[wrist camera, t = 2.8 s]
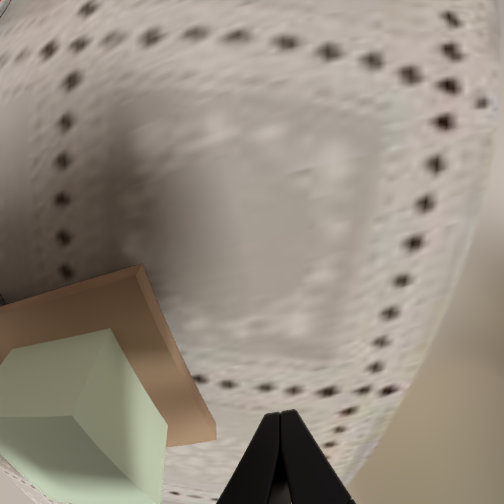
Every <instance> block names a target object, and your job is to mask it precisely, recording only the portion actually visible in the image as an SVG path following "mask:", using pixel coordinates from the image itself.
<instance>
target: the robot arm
mask: <svg viewBox="0 0 504 504" xmlns="http://www.w3.org/2000/svg"><path fill="white" fill-rule="evenodd" d="M291 503H292V504H356V503H355V501H354V500H353V499H352V498H351V496H350V494H349V493H348V491H347V490H346V488H345V486H344V485H343V483H342V482H341V480H340V479H339V477H338V476H337V474H336V473H335V471H334V470H333V468H332V466H331V465H330V463H329V462H328V460H327V459H326V457H325V455H324V454H323V452H322V451H321V449H320V448H319V446H318V444H317V443H316V441H315V440H314V438H313V436H312V435H311V433H310V432H309V430H308V428H307V427H306V425H305V423H304V422H303V420H302V419H301V417H300V415H299V414H298V412H297V411H296V410H295V409H292V410H286V411H282V412H281V413H280V412H273V413H267V414H265V415H264V417H263V419H262V421H261V423H260V425H259V427H258V429H257V431H256V432H255V434H254V436H253V438H252V440H251V442H250V444H249V446H248V448H247V450H246V451H245V453H244V455H243V457H242V459H241V461H240V462H239V464H238V466H237V468H236V470H235V471H234V473H233V475H232V477H231V479H230V480H229V482H228V484H227V486H226V487H225V489H224V491H223V493H222V494H221V496H220V498H219V499H218V501H217V503H216V504H291Z"/></svg>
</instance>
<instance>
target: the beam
mask: <svg viewBox="0 0 504 504" xmlns="http://www.w3.org/2000/svg"><path fill="white" fill-rule="evenodd" d="M109 328H111V330H112V332H113V334H114V336H115V338H116V340H117V342H118V343H119V345H120V347H121V349H122V351H123V353H124V355H125V356H126V358H127V360H128V362H129V364H130V365H131V367H132V369H133V371H134V372H135V374H136V376H137V377H138V379H139V381H140V382H141V384H142V386H143V387H144V389H145V391H146V392H147V394H148V396H149V397H150V399H151V400H152V402H153V404H154V405H155V407H156V408H157V410H158V411H159V413H160V414H161V416H162V417H163V419H164V420H165V422H166V423H167V425H168V429H167V439H166V447H172V446H180V445H187V444H194V443H201V442H207V441H213V440H217V437H216V423H215V421H214V419H213V417H212V415H211V413H210V411H209V410H208V408H207V406H206V404H205V402H204V400H203V398H202V396H201V394H200V392H199V390H198V388H197V386H196V384H195V382H194V380H193V378H192V376H191V374H190V372H189V370H188V368H187V366H186V364H185V362H184V360H183V358H182V355H181V353H180V351H179V349H178V347H177V345H176V343H175V340H174V338H173V336H172V334H171V331H170V329H169V327H168V325H167V322H166V320H165V318H164V316H163V313H162V311H161V309H160V306H159V304H158V301H157V299H156V297H155V294H154V292H153V289H152V287H151V284H150V282H149V279H148V277H147V274H146V272H145V269H144V266H143V264H139V265H136V266H132V267H129V268H125V269H122V270H119V271H115V272H112V273H108V274H105V275H102V276H98V277H95V278H92V279H88V280H85V281H82V282H78V283H75V284H72V285H69V286H65V287H62V288H59V289H55V290H52V291H49V292H46V293H42V294H39V295H36V296H33V297H30V298H26V299H23V300H20V301H17V302H14V303H10V304H7V305H4V306H1V307H0V365H1V363H2V362H3V361H4V359H5V358H6V357H7V355H8V354H9V353H10V351H11V350H12V349H15V348H20V347H25V346H30V345H35V344H40V343H45V342H50V341H54V340H59V339H64V338H68V337H73V336H78V335H82V334H87V333H91V332H96V331H100V330H105V329H109Z"/></svg>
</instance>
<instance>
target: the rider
mask: <svg viewBox="0 0 504 504" xmlns="http://www.w3.org/2000/svg"><path fill="white" fill-rule="evenodd" d="M167 429H168V425H167V423H166V422H165V420H164V419H163V417H162V416H161V414H160V413H159V411H158V410H157V408H156V407H155V405H154V404H153V402H152V400H151V399H150V397H149V396H148V394H147V392H146V391H145V389H144V387H143V386H142V384H141V382H140V381H139V379H138V377H137V376H136V374H135V372H134V371H133V369H132V367H131V365H130V364H129V362H128V360H127V358H126V356H125V355H124V353H123V351H122V349H121V347H120V345H119V343H118V342H117V340H116V338H115V336H114V334H113V332H112V330H111V328H109V329H105V330H100V331H96V332H91V333H87V334H82V335H78V336H73V337H68V338H64V339H59V340H54V341H50V342H45V343H40V344H35V345H30V346H25V347H20V348H15V349H12V350H11V351H10V353H9V354H8V355H7V357H6V358H5V359H4V361H3V362H2V363H1V365H0V454H1V455H2V456H3V457H4V458H5V459H6V460H7V461H8V462H9V463H10V464H11V465H12V466H13V467H14V468H15V469H16V470H17V471H18V472H19V473H20V474H21V475H23V476H24V477H25V478H26V479H27V480H28V481H29V482H30V483H31V484H33V485H34V486H35V487H36V488H37V489H38V490H40V491H41V492H42V493H43V494H44V495H46V496H47V497H48V498H49V499H51V500H52V501H59V502H66V503H73V504H161V500H162V485H163V472H164V460H165V449H166V439H167Z"/></svg>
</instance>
